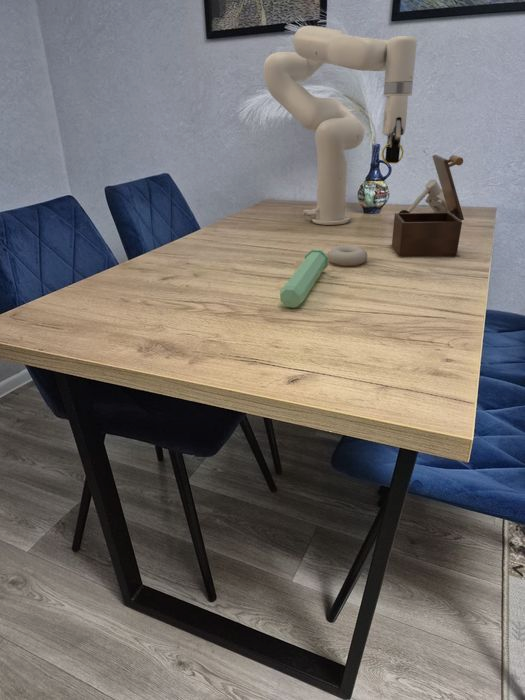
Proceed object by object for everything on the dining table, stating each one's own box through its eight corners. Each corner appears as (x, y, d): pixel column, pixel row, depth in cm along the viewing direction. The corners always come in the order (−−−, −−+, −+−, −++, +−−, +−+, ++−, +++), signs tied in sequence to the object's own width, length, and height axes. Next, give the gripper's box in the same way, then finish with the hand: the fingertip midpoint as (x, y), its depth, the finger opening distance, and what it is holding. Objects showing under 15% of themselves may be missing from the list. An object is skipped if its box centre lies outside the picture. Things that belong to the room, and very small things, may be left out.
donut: (352, 270, 114) (374, 260, 121) (353, 257, 113) (375, 247, 119) (319, 263, 121) (341, 253, 127) (319, 250, 119) (342, 241, 125)
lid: (443, 160, 111) (464, 151, 110) (432, 155, 121) (450, 147, 120) (460, 220, 117) (480, 212, 116) (448, 211, 128) (466, 203, 126)
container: (296, 281, 90) (323, 245, 111) (270, 290, 93) (301, 253, 114) (308, 308, 92) (332, 268, 113) (281, 316, 95) (310, 275, 116)
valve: (409, 245, 166) (387, 215, 159) (447, 203, 165) (426, 170, 158) (428, 250, 157) (406, 218, 150) (468, 205, 157) (448, 171, 149)
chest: (398, 256, 123) (402, 222, 119) (391, 245, 133) (394, 213, 129) (456, 256, 121) (462, 222, 117) (444, 244, 132) (449, 212, 128)
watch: (380, 164, 138) (382, 142, 135) (382, 163, 140) (383, 141, 138) (401, 163, 136) (403, 141, 133) (402, 162, 138) (404, 140, 135)
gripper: (379, 91, 137) (374, 159, 145) (389, 90, 122) (383, 165, 131) (405, 90, 136) (399, 158, 145) (418, 88, 122) (410, 164, 130)
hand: (391, 161), depth 138 cm, fingers closed on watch, 2 cm apart
